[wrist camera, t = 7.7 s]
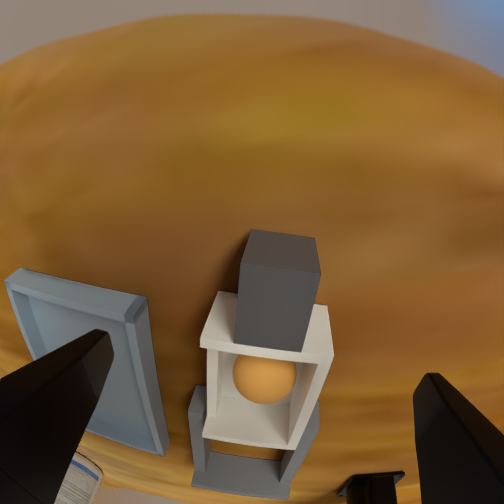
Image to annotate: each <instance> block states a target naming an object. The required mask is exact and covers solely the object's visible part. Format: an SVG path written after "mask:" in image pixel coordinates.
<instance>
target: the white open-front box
mask: <svg viewBox="0 0 504 504" xmlns="http://www.w3.org/2000/svg"><path fill="white" fill-rule="evenodd" d="M320 276H321V271H320V265H319V259H318V253H317V248H316V242H315V238H311V237H304V236H297V235H290V234H283V233H276V232H268V231H261V230H254V229H251V232H250V235H249V239H248V242H247V245H246V248H245V251H244V254H243V257H242V260H241V264H240V275H239V286H238V294H236V293H230V292H223V291H218V293H217V295H216V298H215V300H214V303H213V305H212V308H211V311H210V313H209V316H208V318H207V321H206V324H205V326H204V329H203V331H202V334H201V337H200V347H201V348H207V417H206V421H205V425H204V428H203V432H202V437H203V438H208V439H214V440H219V441H225V442H231V443H237V444H244V445H251V446H258V447H267V448H276V449H287V450H295V449H296V447H297V445H298V443H299V441H300V438H301V436H302V434H303V432H304V430H305V427H306V425H307V423H308V420H309V418H310V416H311V413H312V411H313V409H314V406H315V404H316V401H317V399H318V397H319V394H320V392H321V389H322V387H323V384H324V381H325V379H326V376H327V374H328V371H329V368H330V366H331V363H332V360H333V358H334V351H333V344H332V336H331V329H330V322H329V315H328V309H327V306H325V305H317V304H314V302H315V298H316V293H317V289H318V285H319V281H320ZM239 354H242V355H249V356H256V357H263V358H270V359H278V360H286V361H294V362H295V364H296V370H297V376H296V381H295V384H294V386H293V388H292V390H291V391H290V392H289V394H288V395H287V396H285V397H284V398H283V399H281V400H279V401H277V402H275V403H271V404H258V403H254V402H251V401H249V400H247V399H246V398H244V397H243V396H242V395H241V394H240V393H239V392H238V390H237V389H236V387H235V384H234V381H233V376H232V370H233V365H234V362H235V360H236V358H237V357H238V355H239Z"/></svg>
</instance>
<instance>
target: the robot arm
mask: <svg viewBox="0 0 504 504" xmlns="http://www.w3.org/2000/svg"><path fill="white" fill-rule="evenodd" d="M113 359H114V350H113V346H112V342H111V337H110V334H109V333H108V332H107V331H104V330H100V329H93V330H91V331H90V332H88V333H86V334H84V335H82V336H80V337H78V338H76V339H74V340H72V341H71V342H69V343H67V344H65V345H63V346H61V347H59V348H57V349H55V350H54V351H52V352H50V353H48V354H46V355H44V356H42V357H40V358H38V359H37V360H35V361H33V362H31V363H29V364H27V365H25V366H23V367H21V368H20V369H18V370H16V371H14V372H12V373H10V374H8V375H6V376H4V377H3V378H1V379H0V504H54V503H55V500H56V497H57V495H58V492H59V490H60V487H61V485H62V482H63V480H64V478H65V475H66V473H67V470H68V468H69V466H70V463H71V461H72V459H73V456H74V454H75V452H76V449H77V447H78V445H79V443H80V440H81V438H82V436H83V434H84V432H85V429H86V427H87V425H88V423H89V421H90V419H91V417H92V414H93V412H94V410H95V408H96V406H97V404H98V401H99V399H100V396H101V393H102V390H103V387H104V384H105V382H106V379H107V376H108V373H109V370H110V368H111V365H112V362H113ZM413 408H414V426H415V444H416V452H417V460H418V469H419V478H420V489H421V502H422V504H504V435H503V434H502V433H501V432H500V431H499V430H498V429H497V428H496V427H495V426H494V425H493V424H492V423H491V422H490V421H489V420H488V419H487V418H486V417H485V416H484V415H483V414H482V413H481V412H480V411H479V410H478V409H477V408H476V407H475V406H474V405H472V404H471V403H470V402H469V401H468V400H467V399H466V398H465V397H464V396H463V395H462V394H461V393H460V392H459V391H458V390H457V389H456V388H455V387H453V386H452V385H451V384H450V383H449V382H448V381H447V380H446V379H445V378H444V377H443V376H442V375H441V374H439V373H426V374H425V375H424V376H423V378H422V380H421V381H420V383H419V385H418V386H417V388H416V389H415V391H414V394H413ZM404 476H405V472H395V473H384V474H370V475H355V476H353V477H352V478H351V479H350V480H349V481H348V482H347V483H346V484H345V485H344V486H343V487H342V488H341V490H340V491H339V492H338V493H337V497H346V499H347V504H397V496H396V488H395V484H396V483H397V482H398V481H399V480H401V479H402V478H403V477H404Z"/></svg>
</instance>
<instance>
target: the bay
mask: <svg viewBox="0 0 504 504" xmlns="http://www.w3.org/2000/svg"><path fill="white" fill-rule="evenodd" d="M206 417H207V387H206V386H201V385H196V387H195V391H194V394H193V397H192V400H191V403H190V406H189V409H188V418H189V428H190V437H191V445H192V453H193V461H194V468H195V471H194V475H193V479H192V483H191V484H192V487H196V488H201V489H206V490H211V491H217V492H223V493H229V494H235V495H242V496H250V497H259V498H269V499H282V500H287V499H288V498H289V494H290V483H291V481H292V479H293V478H294V476H295V474H296V472H297V471H298V469H299V467H300V465H301V463H302V462H303V460H304V458H305V456H306V454H307V452H308V451H309V449H310V447H311V445H312V443H313V441H314V439H315V437H316V435H317V433H318V431H319V429H320V423H319V401H316V404H315V406H314V409H313V411H312V413H311V416H310V418H309V420H308V423H307V425H306V427H305V430H304V432H303V434H302V436H301V438H300V441H299V443H298V445H297V447H296V449H295V450H287V449H286V451H285V453H284V455H283V458H282V460H281V461H274V460H264V459H256V458H248V457H241V456H234V455H228V454H222V453H216V452H211V451H210V439H208V438H203V437H202V432H203V428H204V425H205V421H206Z"/></svg>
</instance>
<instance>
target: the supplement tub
mask: <svg viewBox="0 0 504 504" xmlns="http://www.w3.org/2000/svg"><path fill="white" fill-rule="evenodd" d="M102 478H103V474H102V472H101V470H100V469H99V468H98V467H97V466H95V464H94V463H92V462H91V461H90V460H88V459H87V458H85V457H84V456H82V455H80V454H78V453H77V452H75V454H74V456H73V459H72V461H71V463H70V466H69V468H68V470H67V473H66V475H65V478H64V480H63V482H62V485H61V487H60V490H59V492H58V495H57V497H56V500H55V503H54V504H92V503H93V500H94V498H95V496H96V493H97V491H98V488H99V486H100V483H101V481H102Z"/></svg>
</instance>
